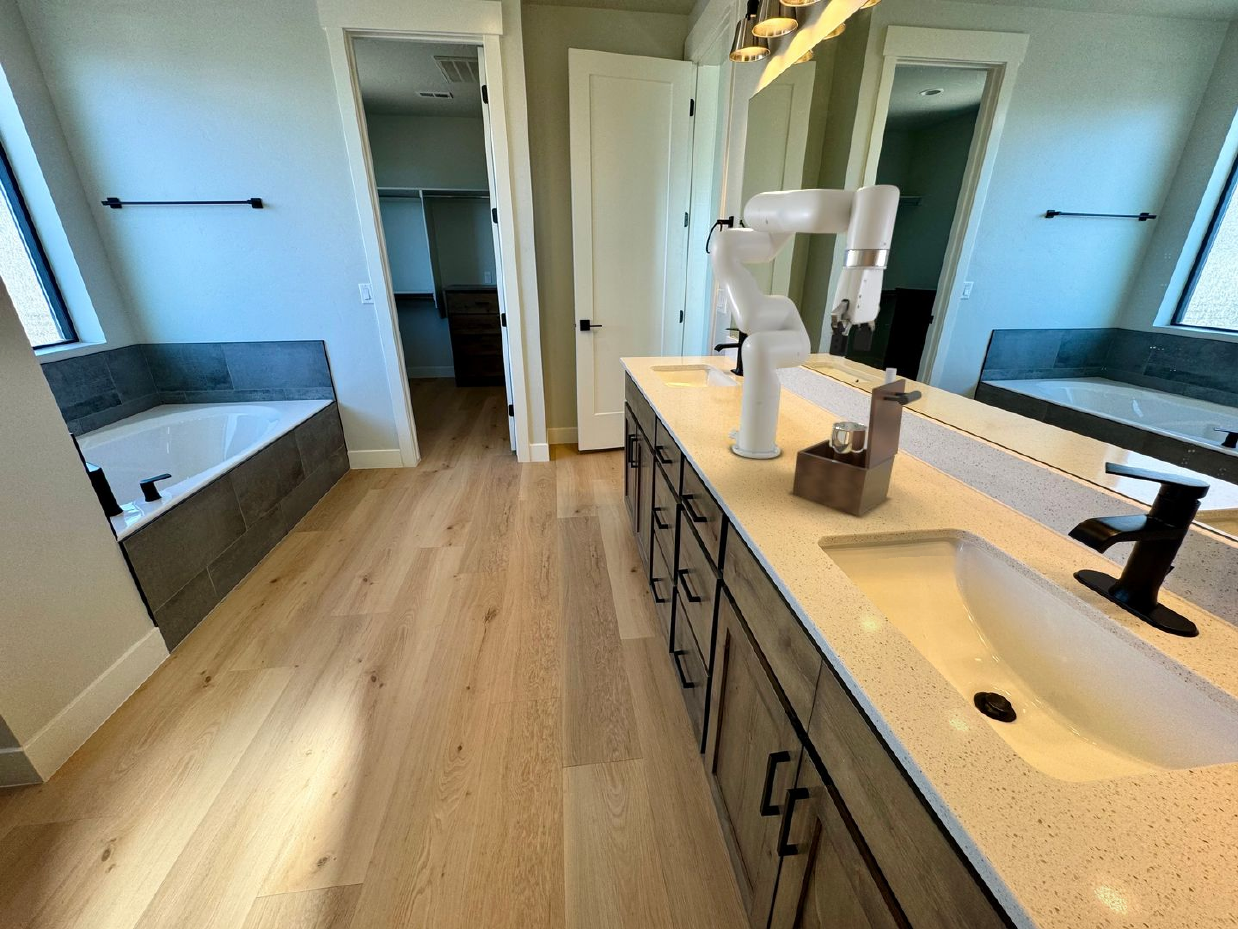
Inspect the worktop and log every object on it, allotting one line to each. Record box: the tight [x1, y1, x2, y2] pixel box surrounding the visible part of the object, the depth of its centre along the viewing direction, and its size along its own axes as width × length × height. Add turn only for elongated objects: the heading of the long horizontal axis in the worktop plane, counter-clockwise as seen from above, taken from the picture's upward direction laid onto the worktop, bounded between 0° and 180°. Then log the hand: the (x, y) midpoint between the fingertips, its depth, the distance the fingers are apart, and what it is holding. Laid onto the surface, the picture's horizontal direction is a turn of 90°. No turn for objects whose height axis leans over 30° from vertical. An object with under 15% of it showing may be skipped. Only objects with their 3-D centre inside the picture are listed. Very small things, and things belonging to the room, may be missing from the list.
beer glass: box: [828, 421, 869, 467], centre depth 103 cm, size 7×7×15 cm
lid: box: [865, 378, 923, 469], centre depth 93 cm, size 15×13×5 cm
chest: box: [791, 438, 896, 517], centre depth 104 cm, size 15×13×10 cm
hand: (849, 352), depth 99 cm, fingers open, 9 cm apart
